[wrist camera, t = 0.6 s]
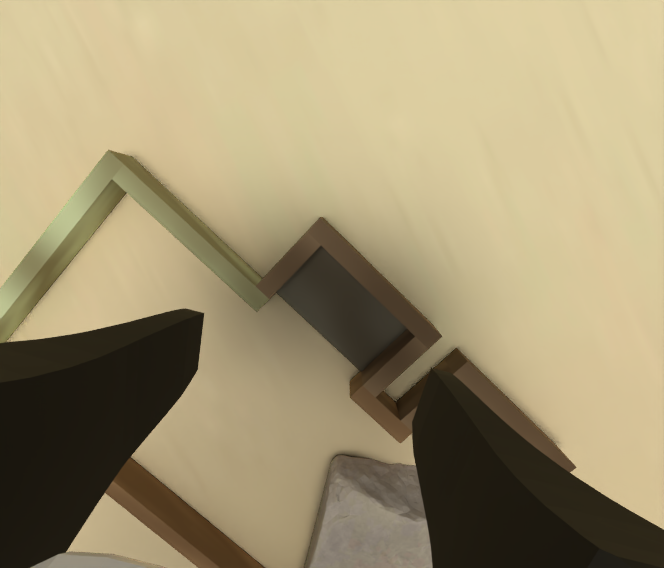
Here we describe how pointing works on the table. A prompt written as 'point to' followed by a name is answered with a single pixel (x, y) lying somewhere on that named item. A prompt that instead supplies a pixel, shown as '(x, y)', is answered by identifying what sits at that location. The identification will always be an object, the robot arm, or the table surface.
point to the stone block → (370, 518)
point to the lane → (284, 279)
